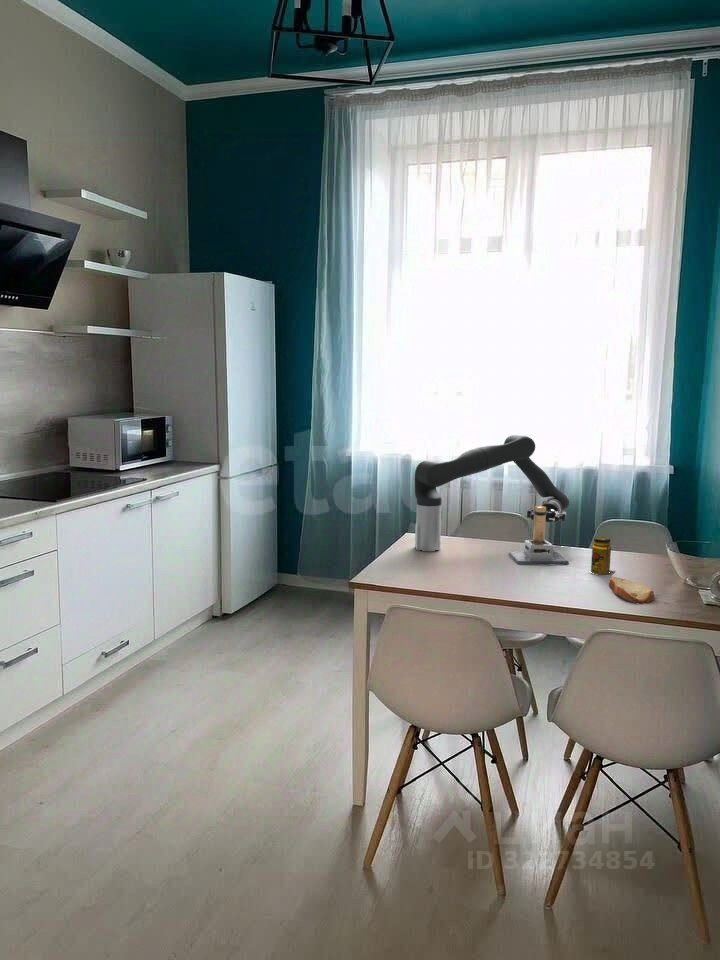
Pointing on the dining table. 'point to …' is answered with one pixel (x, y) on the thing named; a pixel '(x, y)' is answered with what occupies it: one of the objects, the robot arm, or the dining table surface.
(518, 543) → the dining table surface
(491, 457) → the robot arm
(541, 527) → the wooden peg
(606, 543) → the condiment
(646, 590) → the slice of bread
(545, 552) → the grey socket base
